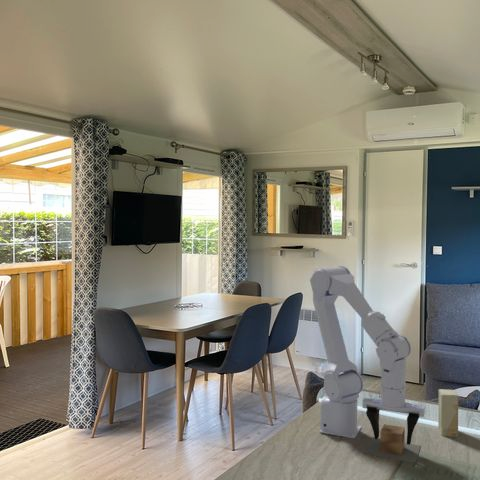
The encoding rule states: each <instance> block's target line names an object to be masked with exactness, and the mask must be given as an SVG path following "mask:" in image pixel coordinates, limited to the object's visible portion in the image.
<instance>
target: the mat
mask: <svg viewBox="0 0 480 480" xmlns="http://www.w3.org/2000/svg"><path fill="white" fill-rule="evenodd" d="M420 449H421V445H419V444H412V443H410V445H408V444H407V442H405V447H404V450H403V453H402V455H396V454H390V453H385V452H380V438H378V439H375V437H372V438H371V439H370V441H369V442H368V445H367V446H366V448H365V450H364V452H363V455H367V456H372V457H373V456H374V457H377V458H378V457H379V458H385V459H389V460H390V459H391V460H396V461H402V462H406V463H411V464H416V463H417V460H418V457H419V452H420Z"/></svg>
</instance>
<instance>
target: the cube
mask: <svg viewBox="0 0 480 480" xmlns="http://www.w3.org/2000/svg"><path fill="white" fill-rule="evenodd" d="M405 429H406V428H405V427H403V426H397V425H391V424H383V425H382V427H381V430H379V439H380V452H385V453H390V454H396V455H402V453H403V450H404V447H405V443H406V442H405V440H406V434H405V431H406V430H405Z"/></svg>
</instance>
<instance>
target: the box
mask: <svg viewBox="0 0 480 480" xmlns="http://www.w3.org/2000/svg"><path fill="white" fill-rule="evenodd" d="M437 419H438V420H437V421H438V424H437V425H438V432H439V434H440V435H441V437H453V438H454V437H459V394H458V393H457V391H456V389H442V388H439V389H438V418H437Z"/></svg>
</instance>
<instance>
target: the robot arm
mask: <svg viewBox="0 0 480 480" xmlns="http://www.w3.org/2000/svg"><path fill="white" fill-rule="evenodd" d="M309 282H310V286H311V291H312V303H313V306H314V311H315V314H316V315H315V316H316V318H317V323H318V328H319V331H320V335H321V339H322V343H323V347H324V350H325V354H326V358H327V363H328V365H327V367H326V368H325V370H324V371H323V373H322V374H323V382H324V383H323V390H324V393H325V395H324V396H323V397H322V399H321V403H320V429H319V433H321V434H327V435H332V436H338V437H344V438H350V439H356V437H357V436H358V434H359V433H360V430H361V429H362V426H361V425H358V398H359V397H360V394H361V392H362V391H363V390H364V385H365V384H364V379H363V378H362V376H361V374H360V372H359V370H358V366H357V365H356V364H355V363H354V362H352V361H351V360H350V359H349V356H348V352H347V348H346V344H345V340H344V338H343V337H344V336H343V333H342V329H341V328H342V327H341V325H340V322H339V318H338V313H337V310H336V305H335V302H336V301H337V299H338V298H339V296H340V297H343V298H344V300H345V301H346V302H347V303H348V305H349V306H350V307H351V308H352V309H353V310H354V311H355V312H356V313H357V315H358V316H359V317H360V318H361V327H362V328H363V329H364V331H365V333H366V334H367V335H368V337H369V338H370V339H371V340H372V342H373V343H374V345H376V348H375V352H376V355H377V357H378V359H379V366H380V368H381V369H380V373H381V375H380V379H381V381H380V392H381V393H380V394H381V395H380V398H366V397H365V398H363V399H362V409H366V411H365V414H366V416H367V418H368V421H369V422H370V425H371V427H372V432H373V435H374V437H373V438H375V439H379V438H380V424H379V422H380V410H381V411H386V412H393V413H401V414H407V417H406V425H407V426H406V427H407V429H406V431H407V433H406V434H407V435H406V443H407V444H408V445H410V444H412V436H413V433H414V430H415V427H416V425H417V423H418V422H419V419H420V417H421V418H424V417H425V413H426V412H425V411H426V410H425V408H426V407H425V406H424V405H418V404H414V403H410V402H407V401H406V374H407V373H406V371H407V370H406V368H407V366H406V365H407V361H406V360H407V359H406V358H408V357H409V355H410V354H411V351H412V350H411V349H412V348H411V344H410V341H409V340H408V337H406V336H404V334H399V333H398V332H397V331H396V330H395V329H394V328H393V327H392V326H391V325H390V322H388V320H387V319H386V316H385V315H384V313H381V312H380V311H375V310H373V309H372V307H371V306H370V304H369V303H368V301H367V299H366V298H365V297H364V295H363V294H362V292H361V290H360V289H359V288H358V286H357V285H356V283H355V276H354V275H353V274H352V273H351V272H350V270H349V268H347V267H346V266H343V265H340V266H334V267H325V268H323V267H321V268H320V267H319V268H316V269H315V270H314V271H313V273H312V275H311V276H310V279H309Z"/></svg>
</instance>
